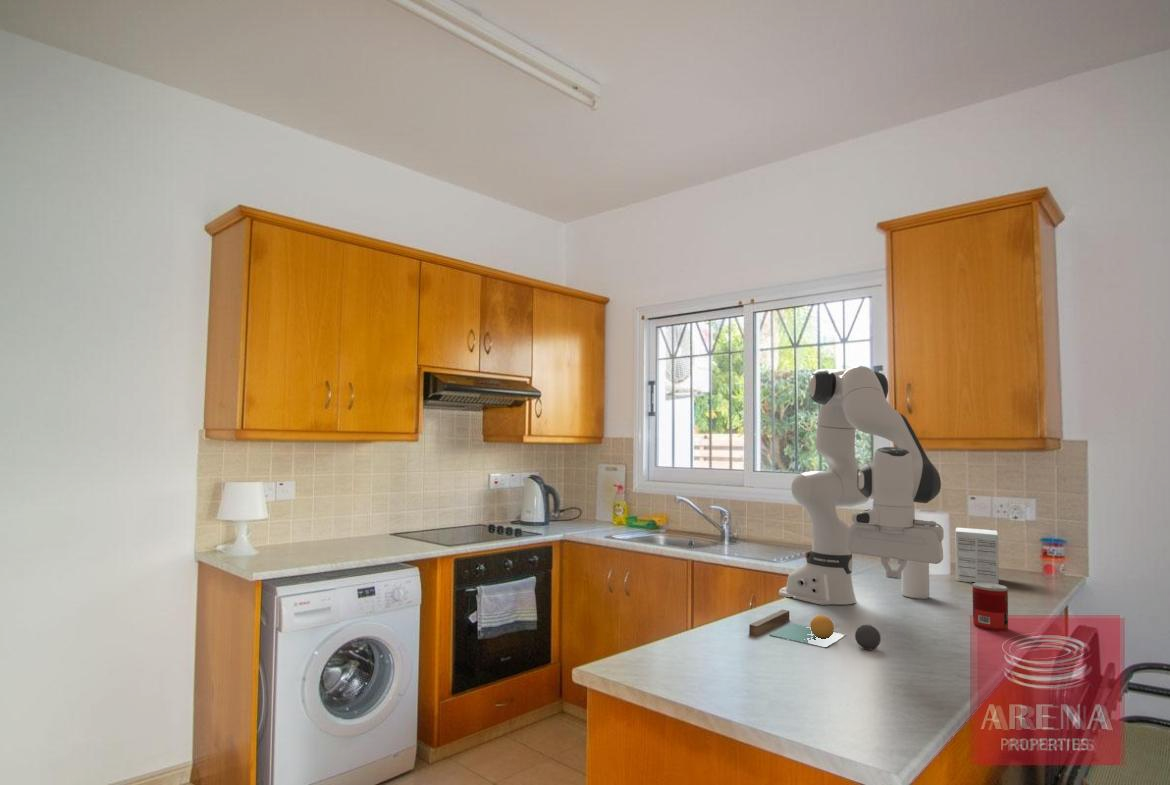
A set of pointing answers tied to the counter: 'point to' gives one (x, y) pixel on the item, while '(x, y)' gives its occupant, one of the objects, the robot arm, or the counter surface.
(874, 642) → the dark grey ball
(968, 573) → the supplement box
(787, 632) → the teal mark
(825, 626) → the orange ball
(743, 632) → the counter surface
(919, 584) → the pill bottle
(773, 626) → the bar
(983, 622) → the canned food
